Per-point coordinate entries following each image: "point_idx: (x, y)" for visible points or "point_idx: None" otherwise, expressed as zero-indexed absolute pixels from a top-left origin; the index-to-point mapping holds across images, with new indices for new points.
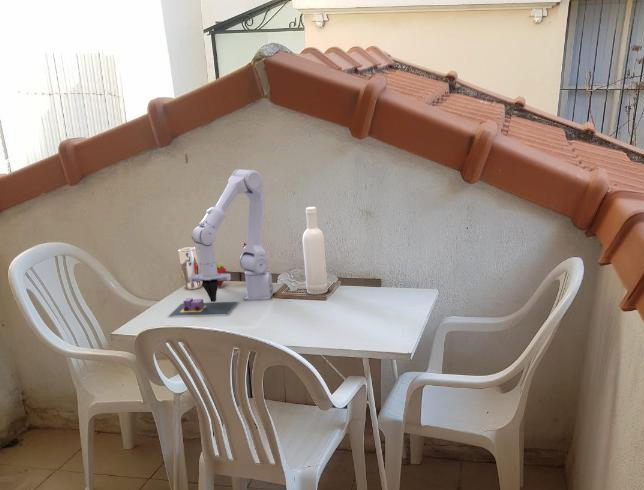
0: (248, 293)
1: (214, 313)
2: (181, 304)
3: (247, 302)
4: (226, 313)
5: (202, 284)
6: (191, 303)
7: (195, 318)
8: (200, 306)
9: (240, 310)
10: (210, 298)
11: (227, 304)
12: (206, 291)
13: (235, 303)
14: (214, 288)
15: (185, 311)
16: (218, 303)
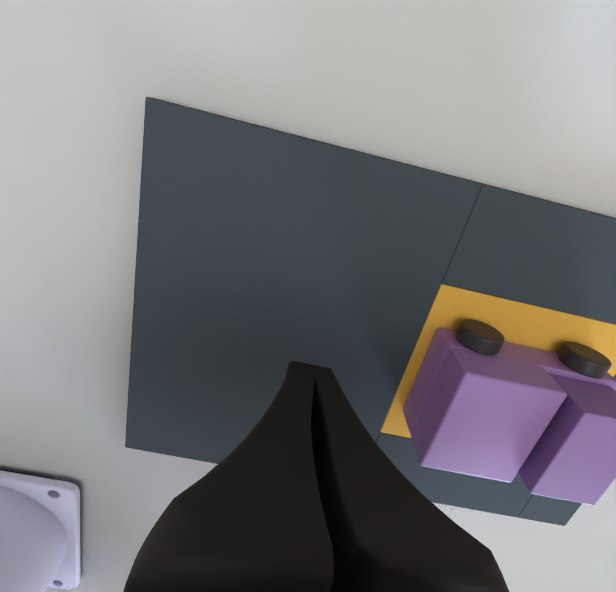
0: (24, 537)
1: (298, 170)
2: (574, 509)
3: (41, 429)
4: (155, 122)
5: (500, 584)
6: (553, 386)
7: (518, 94)
8: (447, 349)
9: (37, 229)
10: (334, 386)
11: (196, 408)
12: (389, 459)
13: (128, 413)
14: (230, 461)
15: (585, 336)
16: None
